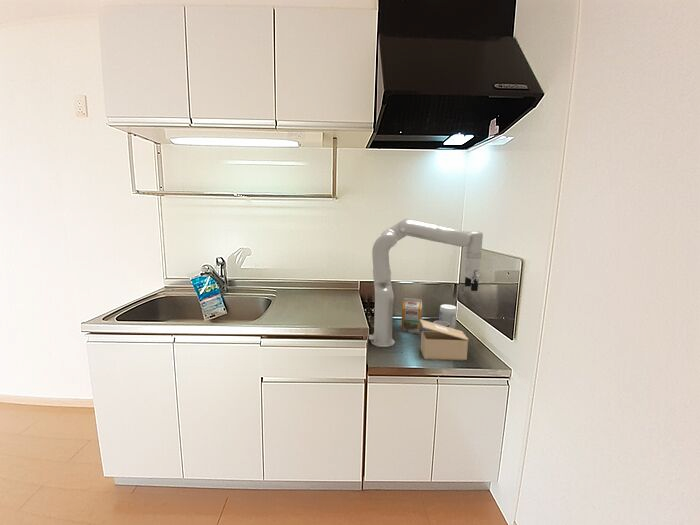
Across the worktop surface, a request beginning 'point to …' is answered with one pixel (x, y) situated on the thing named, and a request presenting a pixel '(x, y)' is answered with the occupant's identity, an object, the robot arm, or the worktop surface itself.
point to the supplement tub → (448, 314)
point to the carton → (443, 346)
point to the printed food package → (411, 316)
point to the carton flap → (443, 329)
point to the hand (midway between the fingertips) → (470, 288)
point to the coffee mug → (442, 323)
